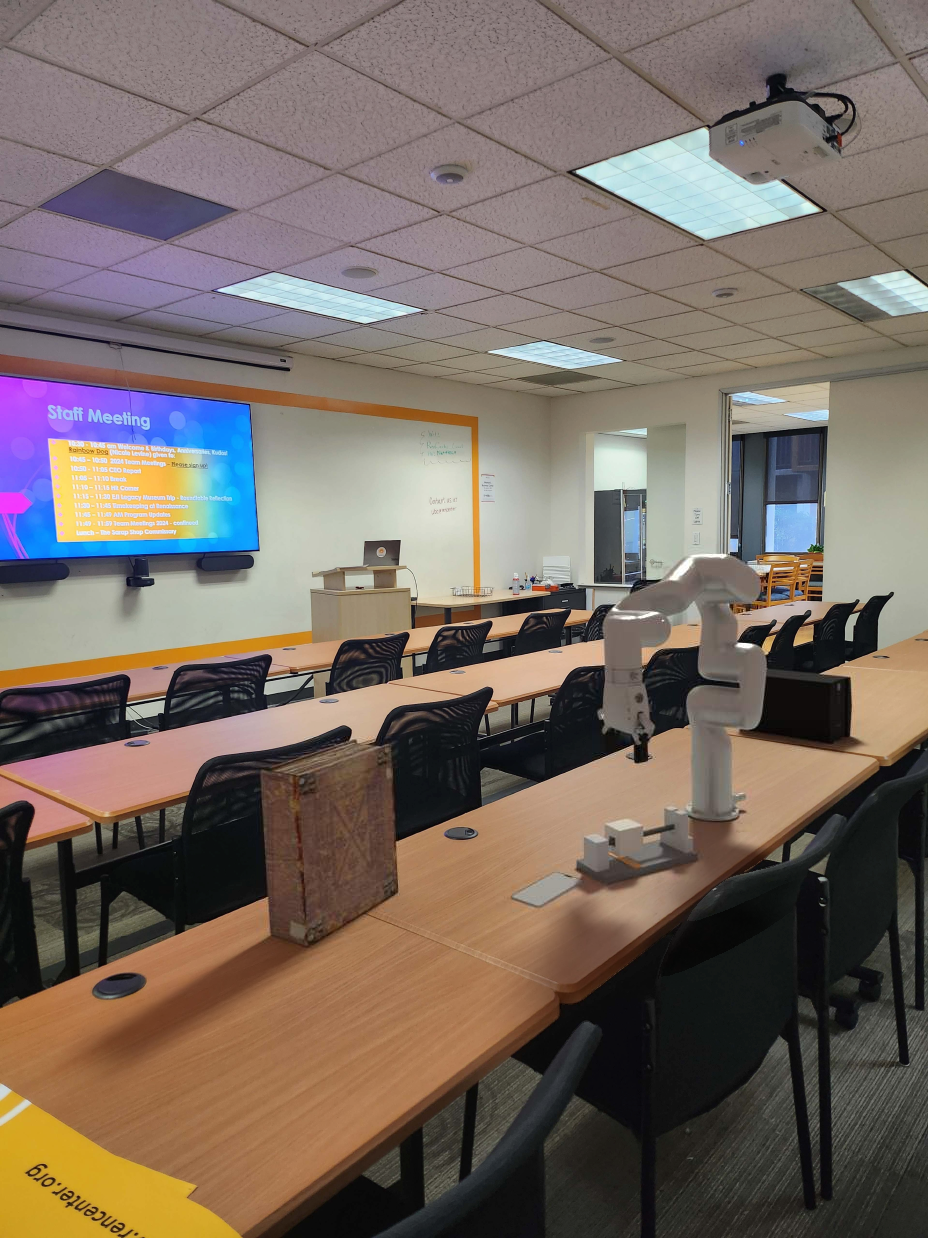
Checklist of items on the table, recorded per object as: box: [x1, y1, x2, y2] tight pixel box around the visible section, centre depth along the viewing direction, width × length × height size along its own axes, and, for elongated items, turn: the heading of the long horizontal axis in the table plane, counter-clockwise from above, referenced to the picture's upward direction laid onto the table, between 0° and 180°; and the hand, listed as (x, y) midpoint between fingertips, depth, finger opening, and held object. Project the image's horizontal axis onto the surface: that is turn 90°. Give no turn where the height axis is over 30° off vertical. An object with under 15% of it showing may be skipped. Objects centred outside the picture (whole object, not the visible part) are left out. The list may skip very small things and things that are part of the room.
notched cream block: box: [604, 818, 644, 858], centre depth 167 cm, size 6×5×6 cm
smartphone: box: [510, 871, 584, 908], centre depth 157 cm, size 7×1×15 cm
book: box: [259, 739, 399, 948], centre depth 149 cm, size 25×9×30 cm, turn 147°
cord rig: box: [576, 805, 699, 885], centre depth 168 cm, size 24×10×10 cm, turn 117°
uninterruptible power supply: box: [738, 668, 853, 745], centre depth 275 cm, size 16×34×20 cm, turn 41°
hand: (625, 757), depth 167 cm, fingers open, 9 cm apart
